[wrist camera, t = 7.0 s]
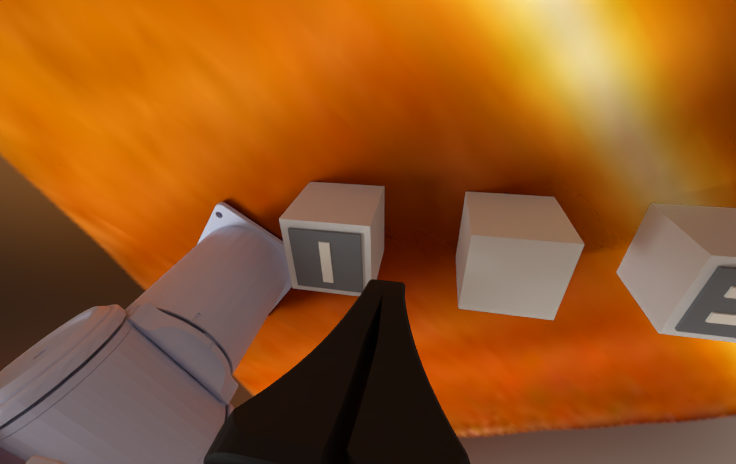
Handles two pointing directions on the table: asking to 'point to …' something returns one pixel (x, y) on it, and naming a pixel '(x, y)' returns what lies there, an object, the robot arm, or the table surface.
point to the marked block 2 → (685, 270)
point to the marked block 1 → (334, 237)
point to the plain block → (514, 254)
